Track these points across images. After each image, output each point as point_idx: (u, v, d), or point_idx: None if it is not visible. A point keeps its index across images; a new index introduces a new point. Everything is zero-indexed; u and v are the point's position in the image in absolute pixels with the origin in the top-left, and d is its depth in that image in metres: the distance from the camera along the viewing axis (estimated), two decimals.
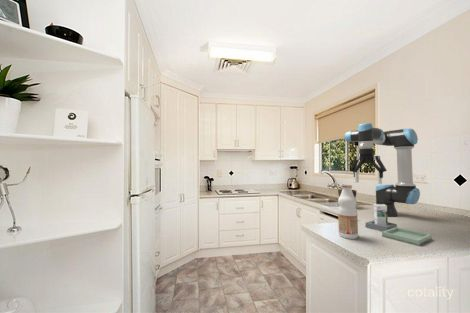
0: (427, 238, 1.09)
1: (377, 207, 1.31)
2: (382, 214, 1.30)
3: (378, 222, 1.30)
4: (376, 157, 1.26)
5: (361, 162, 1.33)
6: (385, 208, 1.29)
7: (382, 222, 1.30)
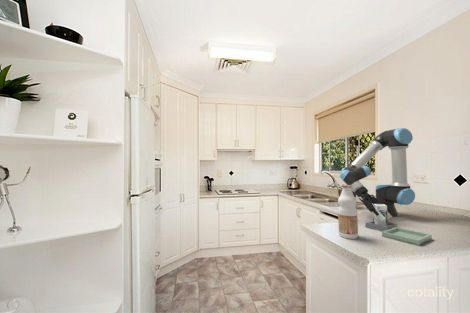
0: (427, 238, 1.09)
1: (377, 207, 1.31)
2: (382, 214, 1.30)
3: (378, 222, 1.30)
4: None
5: None
6: (385, 208, 1.29)
7: (382, 222, 1.30)
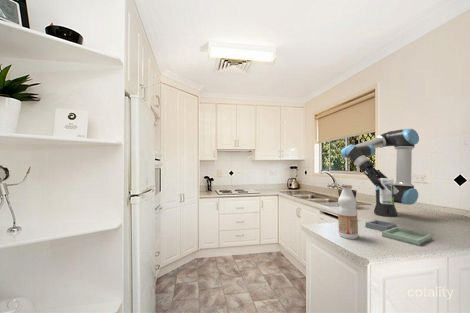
0: (427, 238, 1.09)
1: (383, 181, 1.23)
2: (388, 188, 1.22)
3: (383, 197, 1.23)
4: None
5: None
6: (391, 182, 1.21)
7: (387, 197, 1.22)
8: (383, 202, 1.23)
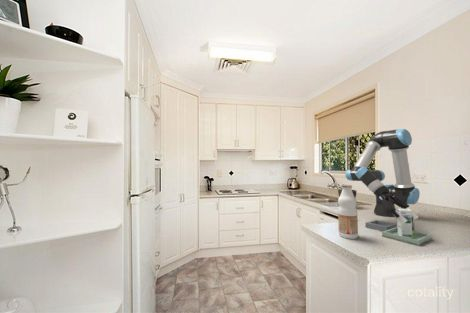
0: (427, 238, 1.09)
1: (401, 213, 1.13)
2: (407, 221, 1.12)
3: (403, 229, 1.13)
4: None
5: None
6: (411, 213, 1.12)
7: (407, 230, 1.12)
8: (403, 235, 1.13)
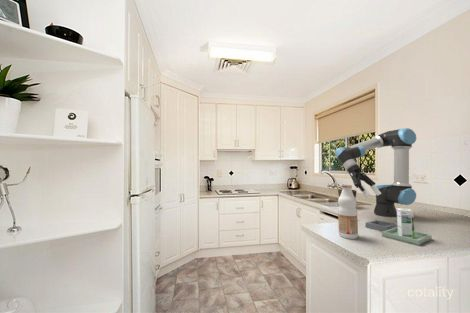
0: (427, 238, 1.09)
1: (401, 213, 1.13)
2: (408, 221, 1.12)
3: (403, 229, 1.13)
4: None
5: (360, 179, 1.40)
6: (411, 213, 1.12)
7: (407, 230, 1.12)
8: (403, 235, 1.13)
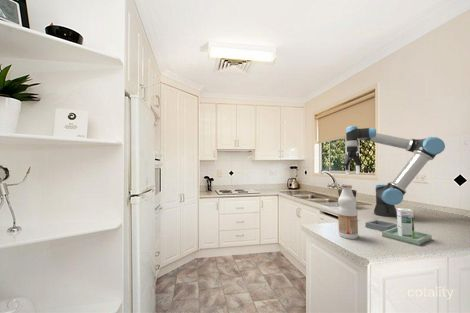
0: (427, 238, 1.09)
1: (401, 213, 1.13)
2: (408, 221, 1.12)
3: (403, 229, 1.13)
4: None
5: None
6: (411, 213, 1.12)
7: (407, 230, 1.12)
8: (403, 235, 1.13)
